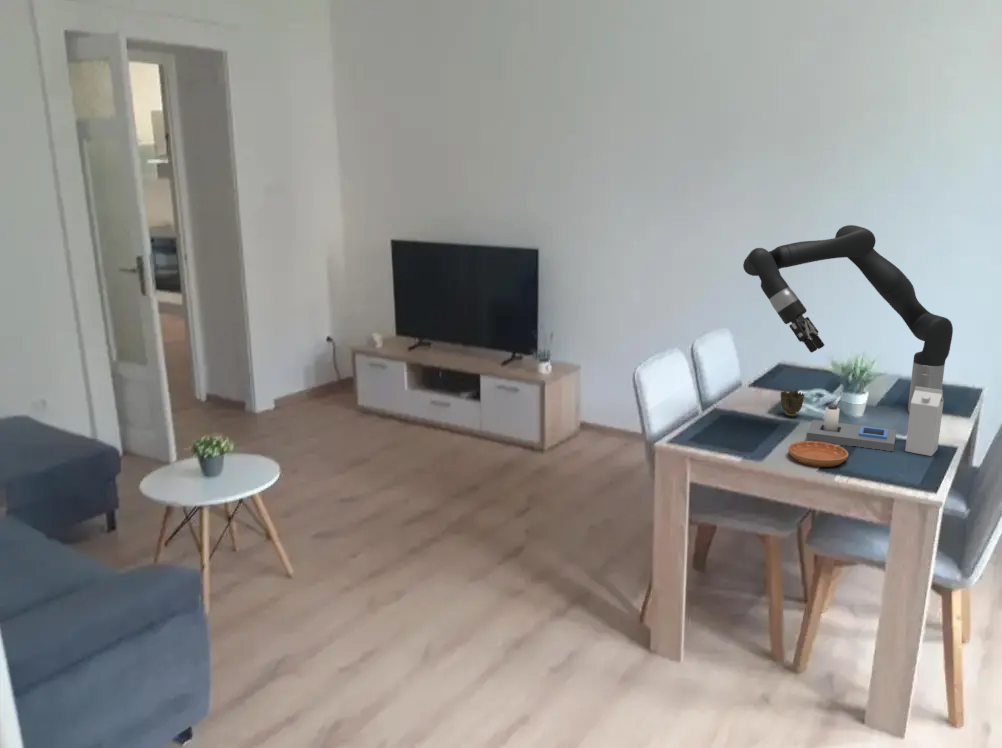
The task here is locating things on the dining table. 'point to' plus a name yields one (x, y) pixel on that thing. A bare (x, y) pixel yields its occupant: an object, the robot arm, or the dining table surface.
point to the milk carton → (924, 421)
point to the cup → (791, 402)
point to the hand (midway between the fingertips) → (818, 349)
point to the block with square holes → (853, 436)
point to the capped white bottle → (831, 418)
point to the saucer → (818, 453)
